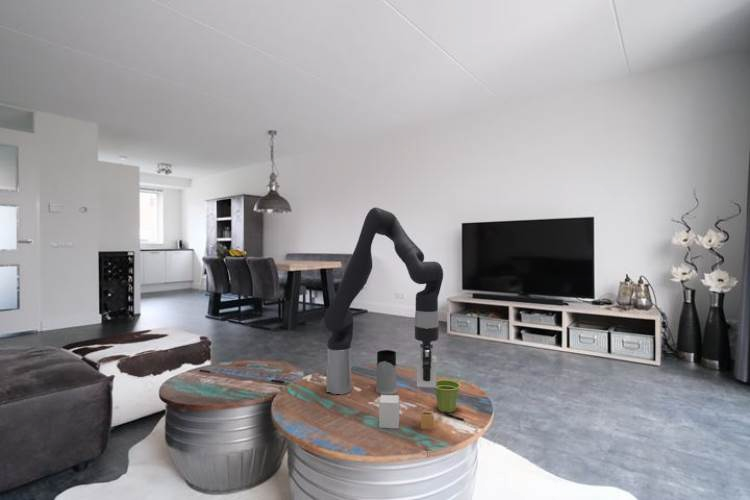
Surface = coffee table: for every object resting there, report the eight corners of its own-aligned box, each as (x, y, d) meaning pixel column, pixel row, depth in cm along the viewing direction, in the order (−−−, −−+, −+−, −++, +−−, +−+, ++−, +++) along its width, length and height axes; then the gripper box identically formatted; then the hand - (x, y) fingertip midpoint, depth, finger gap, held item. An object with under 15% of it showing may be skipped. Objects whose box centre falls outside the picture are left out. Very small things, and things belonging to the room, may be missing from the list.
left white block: (379, 427, 118) (379, 402, 118) (381, 418, 124) (381, 394, 124) (398, 428, 117) (398, 403, 117) (399, 419, 123) (399, 395, 123)
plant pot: (444, 417, 125) (444, 391, 125) (427, 406, 133) (427, 382, 133) (465, 411, 129) (465, 386, 129) (448, 401, 138) (448, 378, 138)
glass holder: (373, 393, 146) (373, 355, 146) (381, 380, 160) (381, 345, 160) (395, 395, 144) (395, 356, 144) (401, 382, 158) (401, 346, 158)
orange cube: (421, 428, 117) (421, 415, 117) (420, 422, 121) (420, 410, 121) (433, 429, 117) (433, 416, 117) (433, 423, 121) (433, 410, 121)
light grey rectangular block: (416, 386, 116) (416, 361, 116) (416, 379, 122) (417, 355, 122) (436, 387, 116) (436, 361, 116) (435, 380, 122) (435, 356, 122)
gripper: (415, 319, 126) (414, 369, 127) (414, 329, 112) (414, 384, 112) (437, 320, 126) (437, 370, 126) (439, 329, 111) (439, 386, 111)
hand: (426, 376), depth 119 cm, fingers closed on light grey rectangular block, 6 cm apart
